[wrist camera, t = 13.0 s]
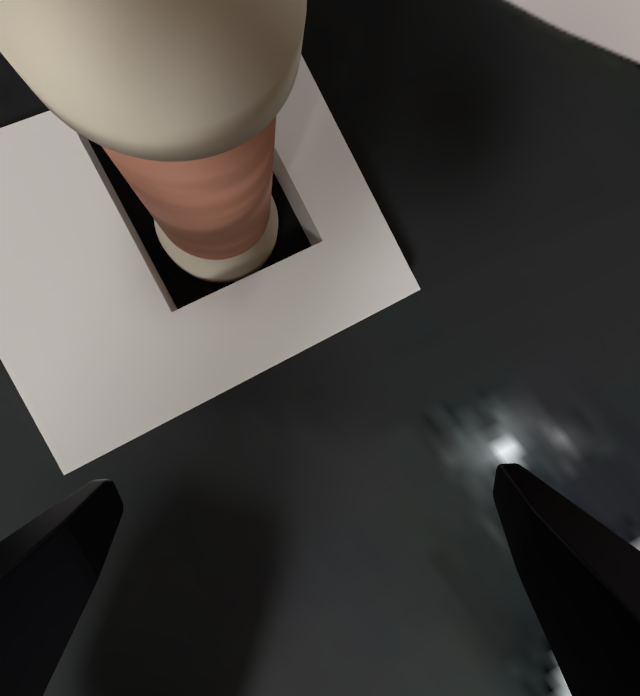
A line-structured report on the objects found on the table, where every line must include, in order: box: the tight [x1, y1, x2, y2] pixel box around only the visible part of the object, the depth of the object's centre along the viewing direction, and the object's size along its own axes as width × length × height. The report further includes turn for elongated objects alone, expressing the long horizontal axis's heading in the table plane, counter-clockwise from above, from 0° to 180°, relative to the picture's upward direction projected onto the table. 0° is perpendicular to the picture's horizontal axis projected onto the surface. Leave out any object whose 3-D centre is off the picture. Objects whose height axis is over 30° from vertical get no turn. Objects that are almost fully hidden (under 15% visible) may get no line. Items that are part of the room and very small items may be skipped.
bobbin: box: [0, 0, 307, 283], centre depth 14 cm, size 7×7×14 cm
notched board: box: [0, 55, 420, 475], centre depth 20 cm, size 20×16×2 cm
